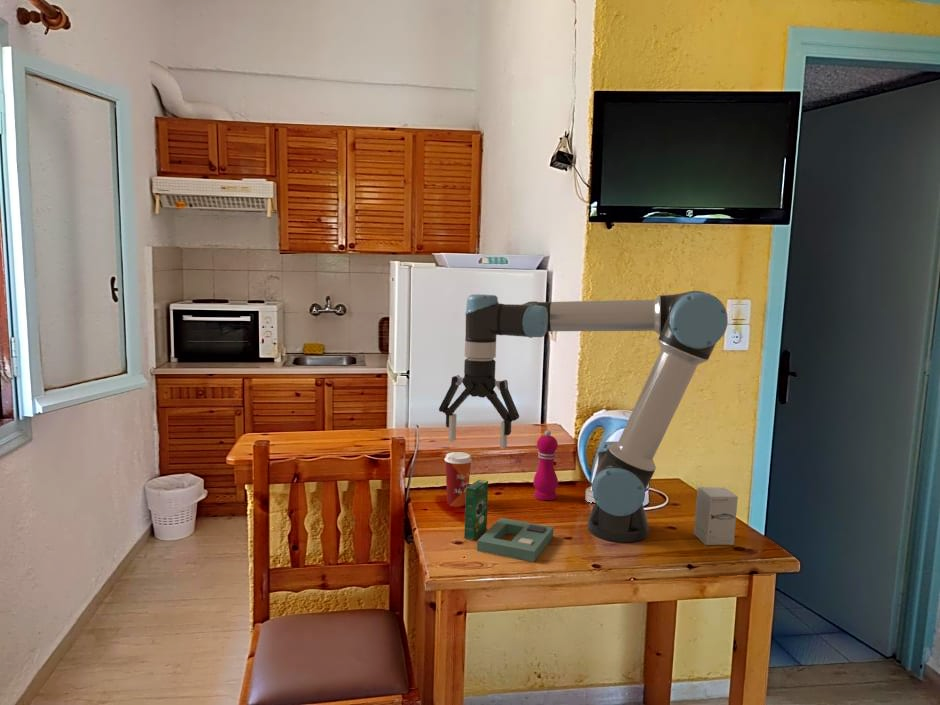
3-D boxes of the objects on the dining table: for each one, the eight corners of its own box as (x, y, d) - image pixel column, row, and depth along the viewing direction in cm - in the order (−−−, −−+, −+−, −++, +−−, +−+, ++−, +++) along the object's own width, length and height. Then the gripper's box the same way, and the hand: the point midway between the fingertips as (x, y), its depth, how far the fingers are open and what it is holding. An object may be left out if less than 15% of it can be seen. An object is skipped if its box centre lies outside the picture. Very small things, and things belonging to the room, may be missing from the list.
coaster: (617, 510, 187) (618, 498, 186) (582, 505, 190) (582, 493, 189) (622, 499, 196) (622, 487, 196) (587, 494, 199) (588, 483, 199)
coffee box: (477, 527, 171) (478, 478, 170) (487, 529, 170) (489, 480, 168) (463, 538, 164) (464, 487, 163) (473, 541, 163) (475, 489, 161)
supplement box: (705, 546, 163) (709, 496, 162) (693, 534, 171) (696, 486, 169) (734, 545, 164) (738, 496, 162) (721, 533, 171) (724, 486, 170)
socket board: (553, 536, 167) (553, 525, 166) (533, 562, 152) (534, 549, 152) (500, 527, 172) (500, 516, 172) (477, 550, 157) (477, 538, 157)
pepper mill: (539, 502, 191) (542, 434, 188) (528, 494, 197) (530, 428, 195) (562, 500, 193) (565, 432, 191) (550, 492, 200) (552, 426, 197)
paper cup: (461, 510, 183) (462, 460, 182) (438, 504, 187) (439, 456, 186) (476, 502, 190) (477, 454, 188) (453, 496, 194) (454, 449, 192)
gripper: (534, 360, 160) (530, 447, 163) (440, 352, 170) (438, 434, 172) (524, 364, 153) (520, 454, 156) (426, 356, 163) (425, 441, 166)
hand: (477, 444), depth 164 cm, fingers open, 13 cm apart
